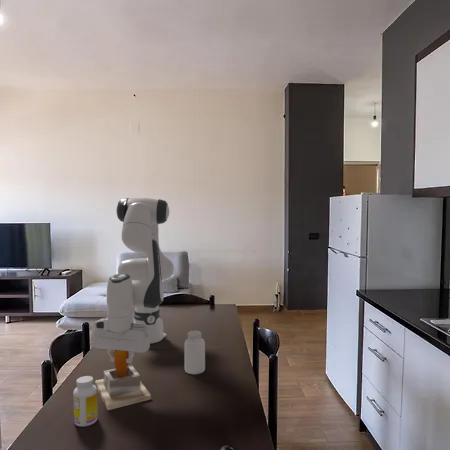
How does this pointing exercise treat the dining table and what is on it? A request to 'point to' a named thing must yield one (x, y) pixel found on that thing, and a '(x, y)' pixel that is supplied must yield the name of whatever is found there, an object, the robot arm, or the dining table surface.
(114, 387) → the anchor plate
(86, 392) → the supplement bottle
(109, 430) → the dining table surface
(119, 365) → the carrot
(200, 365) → the pill bottle
